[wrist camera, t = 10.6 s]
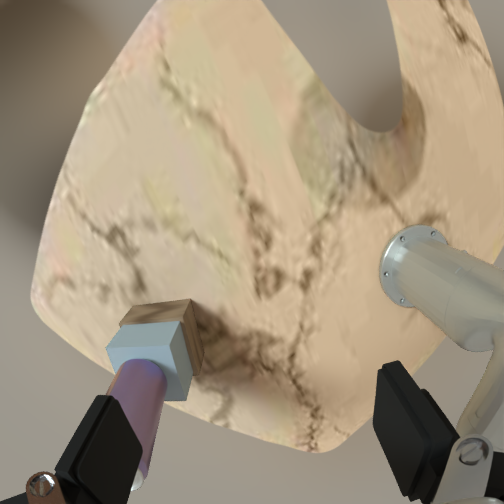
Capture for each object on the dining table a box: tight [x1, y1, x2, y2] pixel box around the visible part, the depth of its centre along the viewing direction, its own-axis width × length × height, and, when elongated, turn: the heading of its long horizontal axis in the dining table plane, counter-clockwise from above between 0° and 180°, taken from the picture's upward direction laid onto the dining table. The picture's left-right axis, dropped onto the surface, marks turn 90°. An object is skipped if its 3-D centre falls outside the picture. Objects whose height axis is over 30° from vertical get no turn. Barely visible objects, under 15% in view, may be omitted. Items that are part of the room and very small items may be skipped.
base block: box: [119, 299, 204, 376], centre depth 41 cm, size 9×9×6 cm
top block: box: [106, 321, 193, 401], centre depth 36 cm, size 8×8×6 cm
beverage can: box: [106, 359, 168, 491], centre depth 25 cm, size 6×6×15 cm
